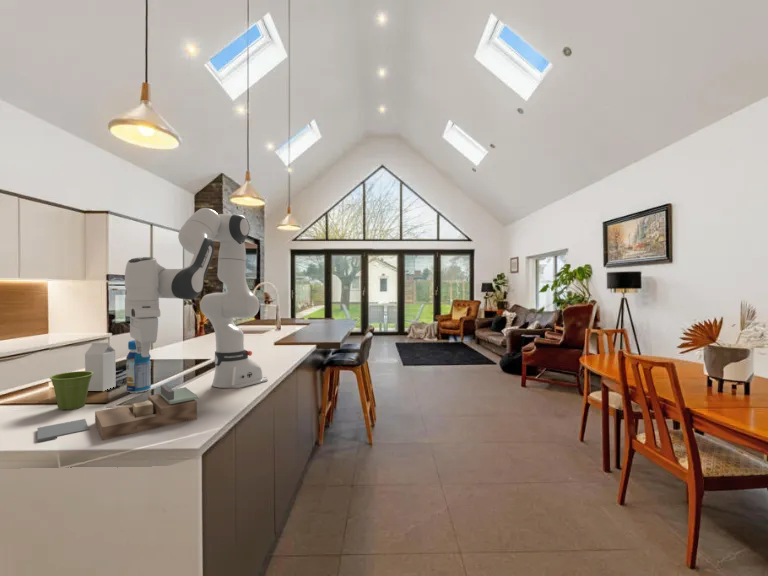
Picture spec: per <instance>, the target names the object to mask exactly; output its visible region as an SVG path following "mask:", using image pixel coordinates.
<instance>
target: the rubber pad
mask: <svg viewBox="0 0 768 576" xmlns="http://www.w3.org/2000/svg"><path fill="white" fill-rule="evenodd" d="M89 430H90V428H89V426H88V422H87V420H86V418H82V419H77V420H72V421H67V422H62V423H61V422H59V423H56V424H51V425H46V426H41V427H40V426H39V427H37V443H40V442H46V441H50V440H49V439H51V440H55V439H54V438H56V439H58V437H63V436H66V435H67V436H68V435H73V434H77V433H81V432H86V431H89ZM45 440H46V441H45Z"/></svg>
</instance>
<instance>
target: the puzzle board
mask: <svg viewBox="0 0 768 576" xmlns="http://www.w3.org/2000/svg"><path fill="white" fill-rule="evenodd" d="M147 401H151V402H152V404H153V414H152V415H147V416H142V417H137V418H135V417H134V415H133V404H131V405H124V406H123V405H122V406H119V407H118V406H117V407H113V408H108V409H107V408H106V409H100V410H96V411H95V412H94V421H95V422H94V424H95V426H96V428H97V431H98V433H99V436H100V438H101V440H102V441H106V440H109V439H114V438H119V437H123V436H124V437H125V436H127V435H133V434H137V433H141V432H145V431H150V430H154V429H158V428H165V427H167V426H172V425H177V424H182V423H185V422H191V421H194V420H198V407H197V406H198V402H197V399H195V400H190V401H185V402H179V403H174V404H169V403H168V402H167V401H166V400H165V399H164V398H163V397H162V396H161V395H160V394H159V393H156V394H152V395H148V396H147Z"/></svg>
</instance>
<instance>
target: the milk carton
mask: <svg viewBox="0 0 768 576" xmlns="http://www.w3.org/2000/svg"><path fill="white" fill-rule="evenodd" d="M116 359H117V358H116V350H115V349H114V348H113V347H112V346H111V345H110V342H91V345H90V347H89V348H88V349H87V350H86V352H85V353H84V371H90V372H93V373H94V374H93V375H92V376H91V380H90V382H89V387H88V391H103V392H105V390H106V391H108V390H111V389H113V387H114V388H116V386H117V385H116V384H117V380H116V379H117V378H116V376H117V374H116V369H117V368H116V367H117V364H116V363H117V362H116ZM110 388H111V389H110ZM107 389H108V390H107Z"/></svg>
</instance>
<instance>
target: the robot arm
mask: <svg viewBox="0 0 768 576" xmlns="http://www.w3.org/2000/svg"><path fill="white" fill-rule="evenodd" d="M250 227H251V226H250V223H249V220H248V219H247V218H246V217H245V216H244V215H242V214H237V213H235V214H230V213H220V214H218V212H216V211H215V210H214V209H211V208H208V207H203V208H199V209H198V210H197V211H195V212H194V213H193V214H191V216H190V217H189V218H188V219H187V220H186V221H185V222H184V224H183V225H182V227H181V228H180V229H179V232H178V238H177V239H178V241H179V244H180V245H181V247H183V248H184V250H186V251H187V252H188V253H190V254H192V255H193V257H192V259H191V262H190V264H189V265H188V266H186V267H183V268H166V267H165V266H162V265H160V264H159V262H158V261H157V258H155V257H152V256H151V257H150V256H148V257H147V256H145V257H134V258H131V259H129V260H128V261H127V263H126V266H125V272H124V288H125V291H126V292H125V294H126V295H125V297H124V316H125V317H129V322H130V323H129V335H130V338H132V339H133V340H135V344H136V352H137V353H138V354H140V353H141V356H142V357H148V356H149V354H150V349H151V344H155V343H156V342H157V340H158V333H159V332H158V331H159V330H158V329H159V318H160V317H161V310H160V299H181V300H188V301H190V300H194V299H196V298H197V297H198V296H199V295H200V294H201V293H202V291H203V289H204V285H205V278H206V275H207V272H208V270H209V268H210V265H211V263H212V259H213V257H214V253H215V244H214V242H218V243H220V245H219V250H218V257H217V258H218V259H217V260H218V261H217V278H218V280H219V281H220V282H222V283H224V284H225V286H226V287H227V292H213V293H208V294H205V295H204V296H203V297H202V298H201V300H200V304H199V308H200V311H201V313H202V315H203V316H205V317H206V318H207V319H208V320H209V322H210V324H211V325H212V327H213V330H214V335H215V351H214V365H215V369H214V376H213V379H212V384H211V386H212V387H214V388H219V389H222V388H223V389H226V388H227V389H229V388H233V389H239V388H240V389H241V388H244V387H248V386H253V385H256V384H260V383H264V382H267V381H268V376H266V375H264V374H263V370H262V367H261V366H260V364H258V363H257V362H256V361H253V360H252V359H251V358H249V357H250V356H252V355H253V351H251V350H246V349H245V335H244V332H243V330H242V329H241V328H240V327H238V326H237V325H236V324H235V322H234V319H240V320H241V319H249V318H253V317H255V316H256V315H257V314H258V312H259V311H260V308H261V306H260V300H259V299H258V297H257V296H256V295H255V293H253V292H252V291H251V289H250V288H249V285H248V283H247V277H246V276H247V275H246V272H247V271H246V264H247V263H246V261H247V252H246V251H247V250H246V244H245V240H247V238H248V236H249V233H250V230H251V229H250Z"/></svg>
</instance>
